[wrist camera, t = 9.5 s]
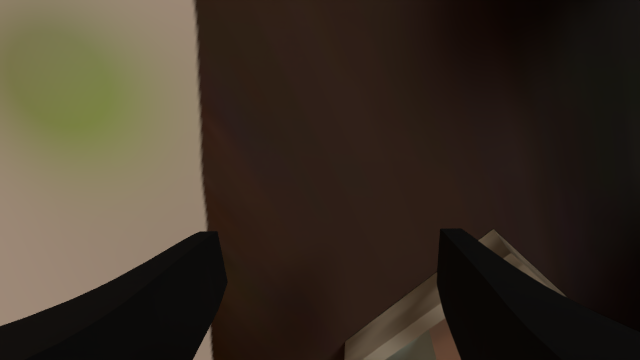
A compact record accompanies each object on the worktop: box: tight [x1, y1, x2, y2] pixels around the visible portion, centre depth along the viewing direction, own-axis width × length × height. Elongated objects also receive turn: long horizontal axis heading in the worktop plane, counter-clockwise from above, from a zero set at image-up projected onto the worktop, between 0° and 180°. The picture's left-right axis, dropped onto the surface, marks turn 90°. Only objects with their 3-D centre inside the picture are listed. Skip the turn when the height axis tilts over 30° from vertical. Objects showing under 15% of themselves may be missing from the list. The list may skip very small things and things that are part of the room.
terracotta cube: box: [429, 318, 461, 360], centre depth 20 cm, size 5×5×5 cm
